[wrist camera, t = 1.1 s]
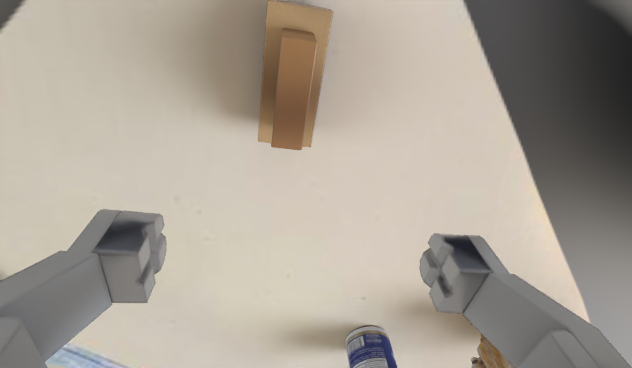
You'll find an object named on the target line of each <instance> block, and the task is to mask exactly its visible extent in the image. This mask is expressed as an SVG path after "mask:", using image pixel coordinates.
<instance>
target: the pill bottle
mask: <svg viewBox="0 0 632 368" xmlns="http://www.w3.org/2000/svg"><path fill="white" fill-rule="evenodd" d="M346 350H347V356H348V362H349V368H397V365H396V362H395V358H394V355H393V351H392V347H391V344H390V340H389V338H388V335H387V333H386V332H385V331H384V330H383V329H381V328H379V327H374V326H369V327H362V328H359V329H356V330H354V331H353V332H351V333H350V334H349V335H348V337H347V339H346Z"/></svg>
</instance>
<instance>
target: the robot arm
mask: <svg viewBox="0 0 632 368" xmlns="http://www.w3.org/2000/svg"><path fill="white" fill-rule="evenodd" d="M163 227H164V220H163V216H162V215H161V214H154V213H143V212H132V211H118V210H107V209H103V210H100V211H98V212H97V214H96V215H95V216H94V217H93V219H92V220H91V221H90V222H89V224H88V225H87V226H86V228H85V229H84V230H83V231H82V233H81V234H80V235H79V237H78V238H77V239H76V240H75V242H74V243H73V244H72V245H71V247H70V248H69V249H68V251H59V252H57V253H55V254H53V255H52V256H50V257H48V258H46V259H44V260H42V261H40V262H38V263H36V264H34V265H32V266H30V267H28V268H26V269H24V270H22V271H20V272H18V273H16V274H14V275H12V276H10V277H8V278H6V279H4V280H2V281H0V368H47V366H46V364H45V361H46V360H47V359H49V358H50V357H51V356H52V355H53V354H54V353H56V352H57V351H58V350H59V349H60V348H62V347H63V346H64V345H65V344H66V343H67V342H69V341H70V340H71V339H72V338H73V337H75V336H76V335H77V334H78V333H79V332H81V331H82V330H83V329H84V328H85V327H86V326H88V325H89V324H90V323H91V322H92V321H94V320H95V319H96V318H97V317H98V316H99V315H101V314H102V313H103V312H104V311H105V310H107V309H108V308H109V307H110V306H111V305H112V303H147V302H148V299H149V297H150V295H151V292H152V290H153V287H154V285H155V276H154V274H156V273H157V272H159V271H160V270H161V268H162V266H163V263H164V260H165V255H166V237H165V236H164V235H163V234H162V233H161V231H162V229H163ZM428 244H429V246H430V248H429V249H428V250H426V251H425V252H424V253H423V255H422V257H421V259H420V273H421V277H422V279H423V281H424V283H426V284H427V285H428V286H429V287H430V288H431V289H430V292H429V295H430V297H431V299H432V302H433V304H434V306H435V308H436V310H437V312H446V313H463V316H464V317H465V318H466V319H467V320H468V321H469V322H470V323H471V324H472V325H473V326H474V327H475V328H476V329H477V330H478V331H479V332H480V333H481V334H482V335H483V336H484V337H485V338H486V339H487V340H488V341H489V342H490V343H491V344H492V345H493V346H494V347H495V348H496V349H497V350H498V351H499V352H500V353H501V354H502V355H503V356H504V357H505V358H506V359H507V360H508V361H509V362H510V363H511V364H512V365H513V366H514V367H515V368H632V367H631V366H630V365H629V364H628V363H627V362H626V360H625V359H624V358H623V357H622V356H621V355H620V353H619V352H618V351H617V350H616V349H615V348H614V347H613V346H612V344H611V343H610V342H609V341H608V340H607V339H606V337H605V336H604V335H603V334H602V333H601V332H600V331H599V329H597V328H596V327H594V326H593V325H591V324H590V323H588V322H587V321H585V320H583V319H582V318H580V317H579V316H577V315H576V314H574V313H573V312H571V311H570V310H568V309H567V308H565V307H564V306H562V305H561V304H559V303H557V302H556V301H554V300H553V299H551V298H550V297H548V296H547V295H545V294H544V293H542V292H541V291H539V290H538V289H536V288H535V287H533V286H532V285H530V284H528V283H527V282H525V281H524V280H522V279H521V278H519V277H518V276H516V275H515V274H510V273H509V272H508V271H507V269H506V268H505V267H504V265H503V264H502V263H501V261H500V260H499V259H498V257H497V256H496V255H495V253H494V252H493V251H492V249H491V248H490V247H489V245H488V244H487V243H486V241H485V240H484V239H483V238H482V237H480V236H476V235H452V234H436V233H434V234H433V235H432V236H431V237H430V239H429V242H428Z"/></svg>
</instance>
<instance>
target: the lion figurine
mask: <svg viewBox="0 0 632 368" xmlns="http://www.w3.org/2000/svg"><path fill="white" fill-rule="evenodd" d="M477 351H478V354H479V356H480V357H479V358H475V357H473V358H471V361H472V364H473V365H472V368H515V367H514V366H513V365H512V364H511V363H510V362H509V361H508V360H507V359H506V358H505V357H504V356H503V355H502V354H501V353H500V352H499V351H498V350H497V349H496V348H495V347H494V346H493V345H492V344H491V343H490V342H489V341H488V340H487V339H486V338H485V337H484V336H483V335H482V334H481V343H480V344H479V346H478V348H477Z"/></svg>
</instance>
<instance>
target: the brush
mask: <svg viewBox="0 0 632 368" xmlns="http://www.w3.org/2000/svg"><path fill="white" fill-rule="evenodd" d="M332 16H333V11H332V10H330V9H326V8H320V7H314V6H308V5H303V4H297V3H291V2H285V1H280V0H268V1H267V15H266V30H265V45H264V59H263V74H262V89H261V104H260V118H259V133H258V142H266V143H271V146H272V147H276V148H285V149H294V150H302V146H303V147H311V143H312V136H313V130H314V124H315V118H316V112H317V106H318V100H319V94H320V88H321V82H322V76H323V70H324V64H325V58H326V52H327V46H328V40H329V34H330V28H331V22H332Z"/></svg>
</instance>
